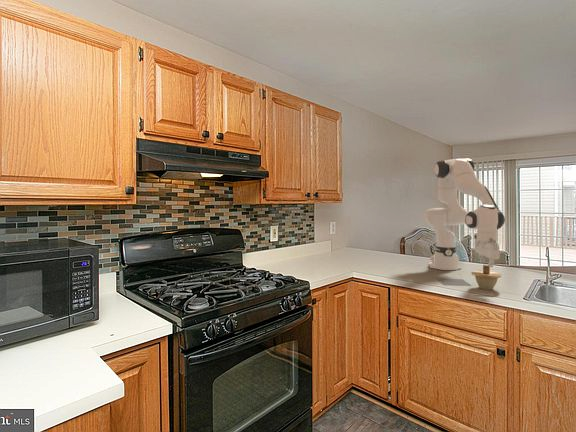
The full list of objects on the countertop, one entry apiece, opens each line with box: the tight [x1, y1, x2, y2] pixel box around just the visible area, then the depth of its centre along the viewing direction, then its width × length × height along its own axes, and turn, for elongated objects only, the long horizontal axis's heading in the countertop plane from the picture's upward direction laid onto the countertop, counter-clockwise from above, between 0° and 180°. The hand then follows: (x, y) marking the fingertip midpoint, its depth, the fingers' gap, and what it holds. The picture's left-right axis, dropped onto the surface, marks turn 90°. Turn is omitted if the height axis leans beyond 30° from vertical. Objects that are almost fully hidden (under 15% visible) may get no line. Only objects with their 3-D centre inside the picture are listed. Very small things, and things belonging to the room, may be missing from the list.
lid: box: [471, 264, 502, 279], centre depth 171 cm, size 13×13×5 cm
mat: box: [436, 278, 473, 287], centre depth 184 cm, size 14×14×1 cm
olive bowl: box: [474, 276, 499, 291], centre depth 171 cm, size 10×10×7 cm
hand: (486, 264), depth 171 cm, fingers open, 8 cm apart
